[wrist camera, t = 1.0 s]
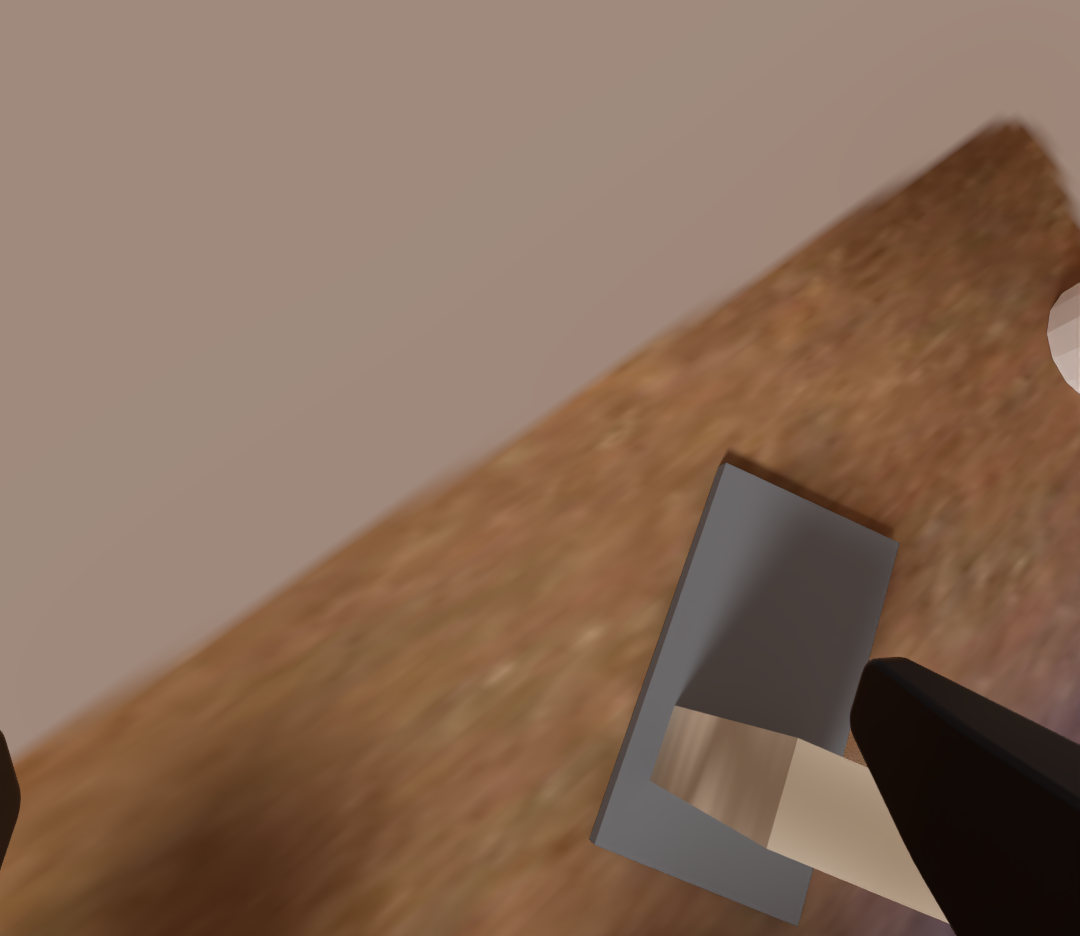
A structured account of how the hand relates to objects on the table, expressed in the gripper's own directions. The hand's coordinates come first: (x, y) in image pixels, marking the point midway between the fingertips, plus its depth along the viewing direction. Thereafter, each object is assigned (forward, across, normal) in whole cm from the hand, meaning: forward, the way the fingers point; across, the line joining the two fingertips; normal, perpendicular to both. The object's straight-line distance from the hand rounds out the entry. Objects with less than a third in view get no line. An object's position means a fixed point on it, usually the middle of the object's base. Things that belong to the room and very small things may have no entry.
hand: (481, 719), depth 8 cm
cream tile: (+10, -10, +12) cm, 18 cm away
